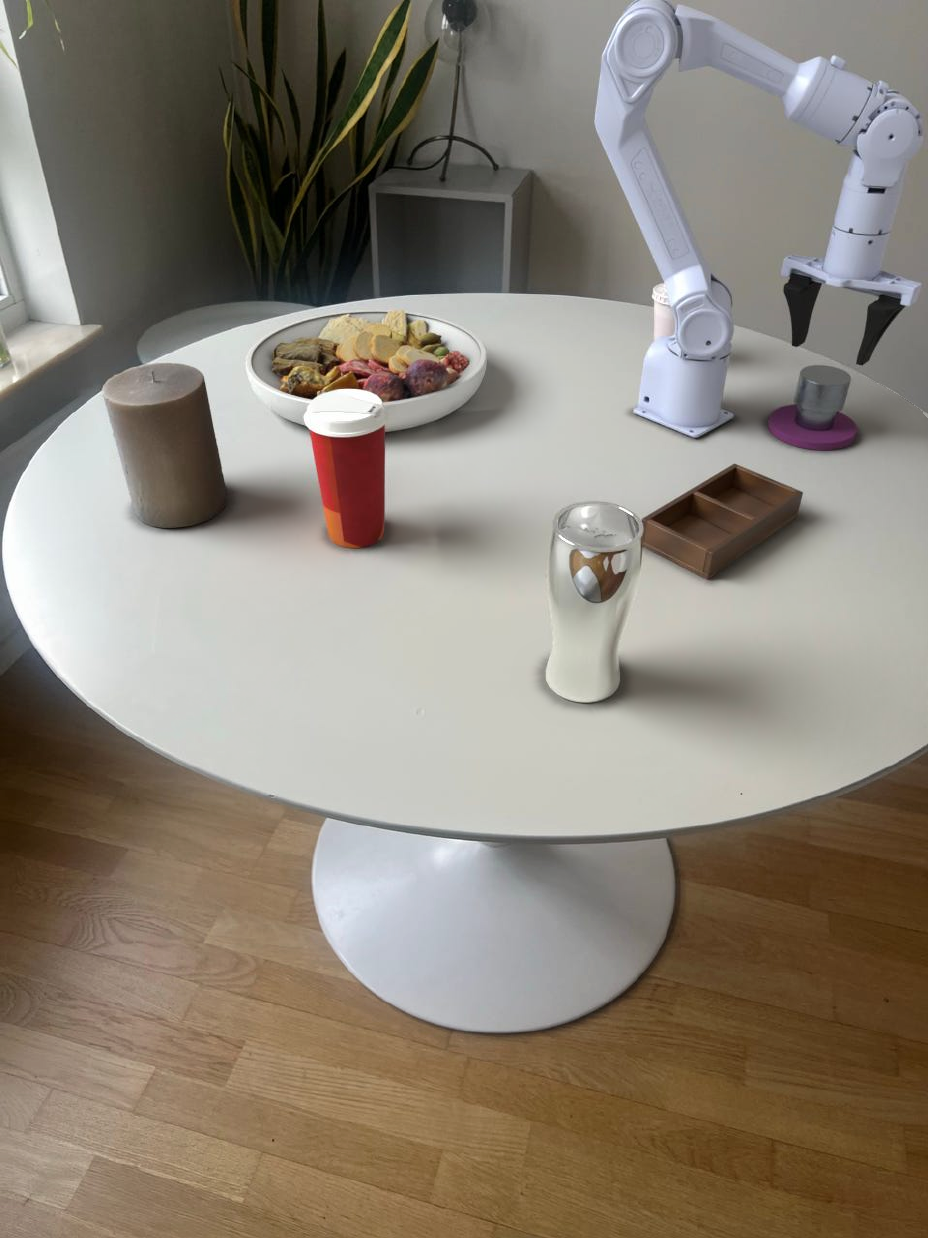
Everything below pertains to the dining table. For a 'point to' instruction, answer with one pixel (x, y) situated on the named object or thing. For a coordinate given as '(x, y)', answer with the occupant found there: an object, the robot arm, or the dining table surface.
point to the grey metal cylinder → (820, 396)
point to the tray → (720, 520)
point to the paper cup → (350, 463)
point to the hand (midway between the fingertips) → (829, 352)
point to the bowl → (369, 364)
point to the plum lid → (794, 435)
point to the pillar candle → (166, 444)
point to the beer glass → (591, 596)
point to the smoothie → (662, 313)
